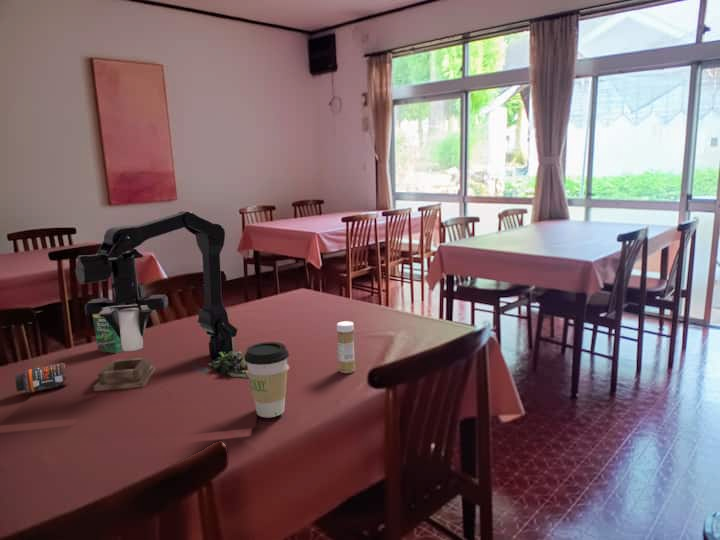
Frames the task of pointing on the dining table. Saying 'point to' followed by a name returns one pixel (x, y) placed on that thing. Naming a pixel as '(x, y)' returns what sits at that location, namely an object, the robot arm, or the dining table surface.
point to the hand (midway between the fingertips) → (131, 336)
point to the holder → (124, 374)
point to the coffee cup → (268, 377)
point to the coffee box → (106, 335)
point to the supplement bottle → (42, 378)
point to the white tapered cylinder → (130, 329)
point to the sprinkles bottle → (346, 347)
